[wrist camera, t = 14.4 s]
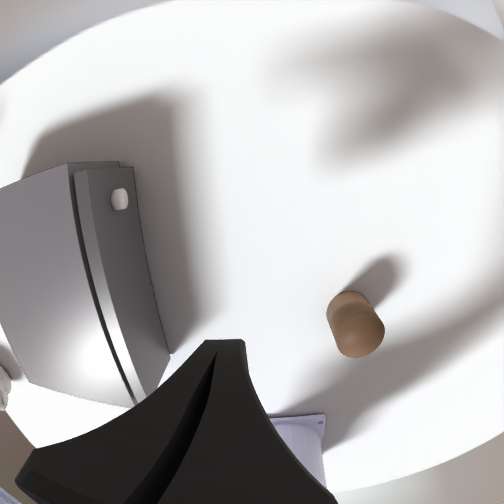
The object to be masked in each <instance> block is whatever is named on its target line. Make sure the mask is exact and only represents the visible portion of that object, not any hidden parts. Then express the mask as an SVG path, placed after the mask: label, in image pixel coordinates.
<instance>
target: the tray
mask: <svg viewBox="0 0 504 504" xmlns="http://www.w3.org/2000/svg"><path fill="white" fill-rule="evenodd" d="M74 180H75V189H76V197H77V204H78V210H79V217H80V222H81V228H82V233H83V239H84V244H85V248H86V253H87V257H88V262H89V266H90V270H91V274H92V278H93V282H94V285H95V289H96V293H97V296H98V300H99V303H100V306H101V310H102V313H103V316H104V319H105V322H106V325H107V328H108V331H109V334H110V337H111V339H112V342H113V345H114V348H115V350H116V353H117V355H118V358H119V361H120V363H121V366H122V368H123V370H124V373H125V375H126V377H127V380H128V382H129V384H130V387H131V389H132V391H133V393H134V395H135V398H136V400H137V402H138V403H140V402H141V401H143V400H144V399H145V398H146V397H148V396H149V395H150V394H151V393H153V392H154V391H155V390H156V389H157V387H158V384H159V382H160V380H161V378H162V376H163V373H164V371H165V369H166V367H167V365H168V363H169V360H170V354H169V351H168V348H167V344H166V341H165V337H164V333H163V330H162V326H161V322H160V318H159V314H158V310H157V306H156V302H155V297H154V293H153V289H152V284H151V280H150V275H149V270H148V265H147V260H146V255H145V249H144V244H143V238H142V232H141V226H140V220H139V213H138V206H137V199H136V191H135V182H134V173H133V167H117V168H98V169H86V170H82V171H79V172H75V173H74Z"/></svg>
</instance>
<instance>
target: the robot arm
mask: <svg viewBox="0 0 504 504" xmlns="http://www.w3.org/2000/svg"><path fill="white" fill-rule="evenodd" d="M325 423H326V416H325V415H324V414H317V415H308V416H297V417H284V418H269V417H268V416H267V414H266V412H265V410H264V408H263V406H262V404H261V402H260V400H259V398H258V396H257V394H256V391H255V389H254V386H253V384H252V381H251V378H250V375H249V370H248V363H247V355H246V346H245V342H244V341H243V340H242V339H226V340H205V341H204V342H203V343H202V344H201V345H200V346H199V347H198V348H197V349H196V350H195V351H194V353H193V354H192V355H191V356H190V357H189V358H188V359H187V360H186V361H185V362H184V363H183V364H182V365H181V366H180V367H179V368H178V369H177V370H176V371H175V372H174V373H173V374H172V375H171V376H170V377H169V378H168V379H167V380H166V381H165V382H164V383H163V384H162V385H161V386H160V387H158V388H157V389H156V390H155V391H154V392H153V393H151V394H150V395H149V396H148V397H146V398H145V399H144V400H143V401H141V402H140V403H138V404H137V405H135V406H134V407H133V408H131V409H130V410H128V411H127V412H125V413H124V414H122V415H120V416H118V417H117V418H115V419H113V420H111V421H109V422H108V423H106V424H104V425H102V426H100V427H98V428H96V429H94V430H92V431H90V432H87V433H85V434H83V435H80V436H78V437H75V438H72V439H70V440H67V441H64V442H60V443H57V444H53V445H49V446H45V447H42V448H37V449H34V450H33V451H32V453H31V454H30V456H29V457H28V459H27V461H26V462H25V464H24V466H23V467H22V469H21V470H20V472H19V473H18V475H17V477H16V478H15V482H16V484H17V486H18V487H19V488H20V489H21V490H22V491H23V492H25V493H26V494H27V495H28V496H29V497H30V498H32V499H33V500H34V501H35V502H37V503H38V504H338V502H337V501H336V499H335V497H334V496H333V495H332V494H331V493H330V492H329V491H328V490H327V487H326V479H325V472H324V465H323V458H322V452H321V447H322V442H323V436H324V429H325ZM0 504H21V503H20V502H19V501H17V500H16V499H15V498H13V497H12V496H11V495H9V494H8V493H7V492H6V491H4V490H3V489H2V488H1V487H0ZM503 504H504V503H503Z"/></svg>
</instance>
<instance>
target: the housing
mask: <svg viewBox="0 0 504 504" xmlns="http://www.w3.org/2000/svg"><path fill="white" fill-rule="evenodd" d="M117 167H119V161H112V162H75V163H65V164H62V165H59V166H56V167H53V168H51V169H48V170H45V171H42V172H40V173H37V174H34V175H32V176H29V177H27V178H24V179H22V180H19V181H17V182H14V183H12V184H10V185H7V186H5V187H3V188H0V323H1V326H2V328H3V330H4V333H5V335H6V337H7V340H8V342H9V344H10V346H11V348H12V351H13V353H14V355H15V357H16V359H17V361H18V363H19V365H20V366H21V368H22V370H23V372H24V374H25V376H26V378H27V379H28V381H29V382H30V383H32V384H35V385H38V386H41V387H44V388H47V389H51V390H54V391H57V392H61V393H64V394H68V395H71V396H75V397H79V398H83V399H87V400H91V401H96V402H100V403H105V404H110V405H115V406H120V407H126V408H133V407H134V406H135V405H137V404H138V402H137V400H136V398H135V395H134V393H133V391H132V389H131V387H130V384H129V382H128V380H127V377H126V375H125V373H124V370H123V368H122V366H121V363H120V361H119V358H118V355H117V353H116V350H115V348H114V345H113V342H112V339H111V337H110V334H109V331H108V328H107V325H106V322H105V319H104V316H103V313H102V310H101V306H100V303H99V300H98V296H97V293H96V289H95V285H94V282H93V278H92V274H91V270H90V266H89V262H88V257H87V253H86V248H85V244H84V239H83V233H82V228H81V222H80V217H79V210H78V204H77V197H76V189H75V180H74V173H75V172H79V171H82V170H86V169H98V168H117Z"/></svg>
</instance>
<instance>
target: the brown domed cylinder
mask: <svg viewBox="0 0 504 504" xmlns="http://www.w3.org/2000/svg"><path fill="white" fill-rule="evenodd" d="M327 319H328V322H329V325H330V328H331V330H332V333H333V336H334V338H335V341H336V344H337V347H338V349H339V351H340V352H341V353H342V354H343V355H345V356H347V357H352V358H358V357H363V356H365V355H368V354H370V353H371V352H373V351H374V350H375V349H376V348H377V347H378V346H379V345H380V344H381V342H382V340H383V338H384V334H385V328H384V325H383V323H382V321H381V320H380V318H379V317H378V315H377V314H376V313H375V311H374V310H373V308H372V307H371V305H370V304H369V302H368V301H367V300H366V298H365V297H364V296H363V295H362V294H360V293H358V292H355V291H348V292H344V293H341V294H339V295H338V296H336V297H335V298H334V299H333V300H332V301H331V302H330V304H329V306H328V308H327Z"/></svg>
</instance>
